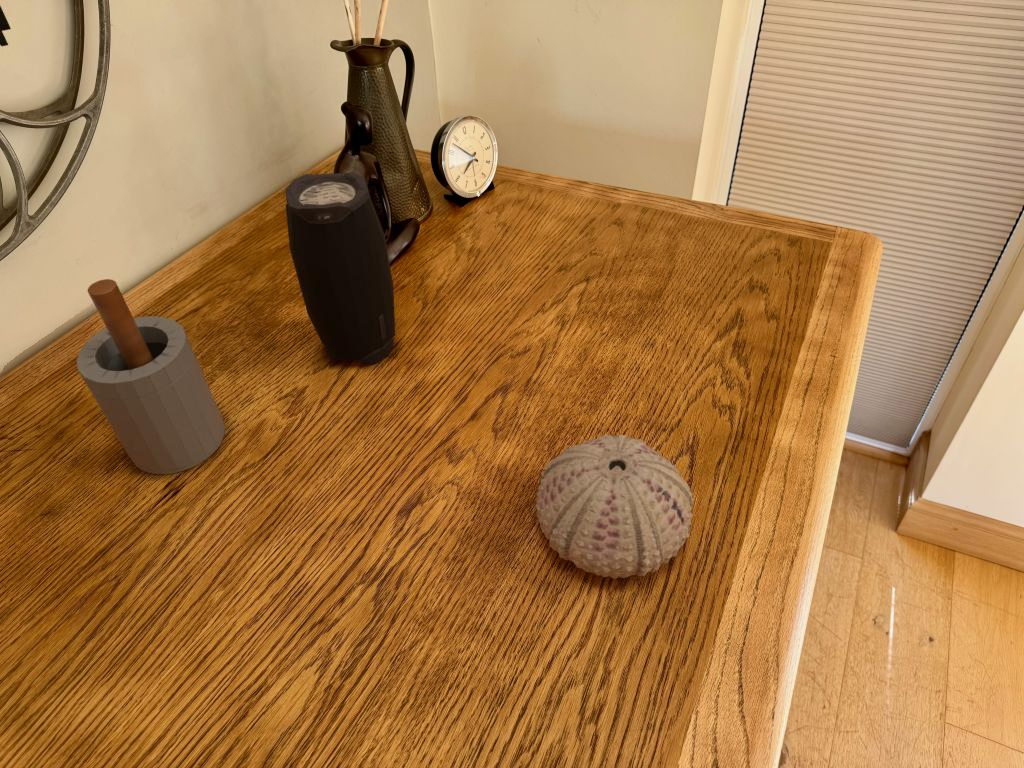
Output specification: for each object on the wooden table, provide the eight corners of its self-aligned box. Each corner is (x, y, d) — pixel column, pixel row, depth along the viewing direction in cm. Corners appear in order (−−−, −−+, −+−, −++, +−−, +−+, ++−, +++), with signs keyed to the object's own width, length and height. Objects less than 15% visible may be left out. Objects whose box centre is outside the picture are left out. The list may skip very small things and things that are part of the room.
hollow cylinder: (112, 470, 69) (54, 378, 61) (158, 404, 76) (111, 313, 67) (200, 478, 68) (154, 386, 60) (239, 411, 75) (202, 319, 66)
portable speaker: (308, 340, 83) (263, 182, 69) (383, 312, 86) (354, 157, 73) (336, 383, 77) (293, 221, 64) (415, 351, 81) (390, 191, 67)
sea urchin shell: (643, 448, 70) (652, 388, 64) (719, 562, 60) (738, 503, 55) (513, 488, 66) (511, 428, 61) (573, 615, 57) (577, 557, 52)
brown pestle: (151, 447, 70) (68, 298, 58) (169, 421, 73) (93, 272, 61) (186, 451, 70) (110, 301, 58) (202, 424, 73) (133, 275, 60)
